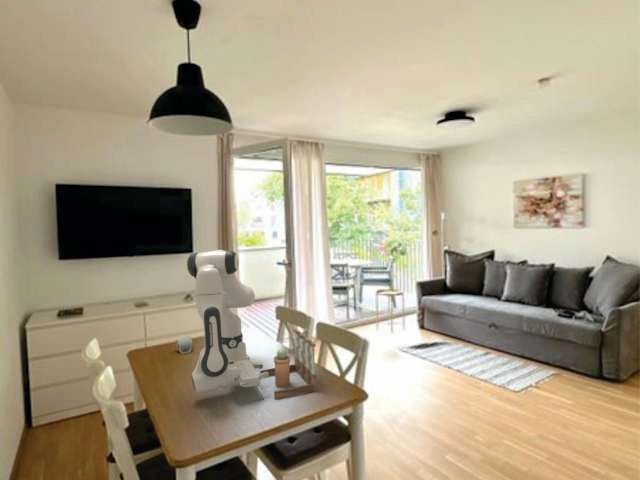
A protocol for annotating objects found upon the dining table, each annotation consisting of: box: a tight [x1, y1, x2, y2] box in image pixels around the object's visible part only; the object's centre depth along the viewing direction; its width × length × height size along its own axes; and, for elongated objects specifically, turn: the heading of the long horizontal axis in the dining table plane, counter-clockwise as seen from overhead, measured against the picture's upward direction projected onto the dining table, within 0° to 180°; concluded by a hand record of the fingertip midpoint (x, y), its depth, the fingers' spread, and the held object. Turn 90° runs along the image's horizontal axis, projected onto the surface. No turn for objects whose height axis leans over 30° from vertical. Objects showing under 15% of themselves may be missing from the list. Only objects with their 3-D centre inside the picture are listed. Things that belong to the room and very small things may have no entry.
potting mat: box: [231, 385, 265, 405], centre depth 156 cm, size 20×10×1 cm, turn 23°
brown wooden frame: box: [259, 328, 317, 401], centre depth 163 cm, size 24×18×20 cm
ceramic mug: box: [175, 335, 193, 355], centre depth 206 cm, size 11×8×8 cm
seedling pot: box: [273, 348, 291, 389], centre depth 162 cm, size 7×7×16 cm
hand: (265, 369), depth 159 cm, fingers open, 8 cm apart
